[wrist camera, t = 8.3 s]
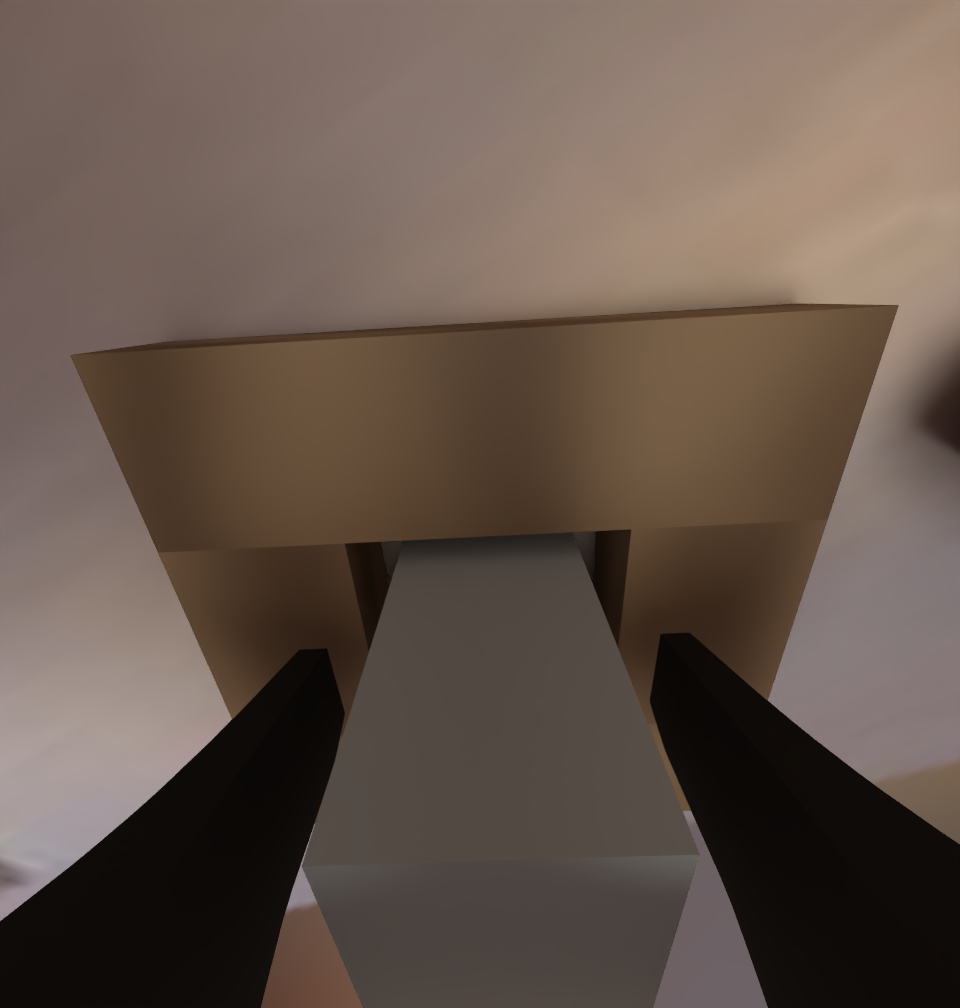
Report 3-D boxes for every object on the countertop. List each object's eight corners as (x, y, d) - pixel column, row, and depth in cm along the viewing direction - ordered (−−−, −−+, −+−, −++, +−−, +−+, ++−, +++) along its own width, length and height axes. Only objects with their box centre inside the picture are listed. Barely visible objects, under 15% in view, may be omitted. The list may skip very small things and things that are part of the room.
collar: (307, 749, 16) (279, 824, 13) (166, 342, 10) (70, 354, 7) (694, 734, 15) (731, 809, 13) (797, 304, 9) (898, 305, 7)
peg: (428, 627, 13) (367, 1017, 6) (412, 512, 12) (301, 867, 4) (557, 621, 13) (651, 1011, 6) (561, 505, 11) (700, 854, 4)
